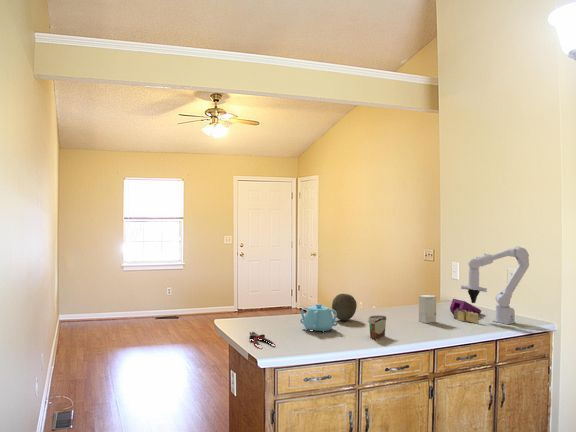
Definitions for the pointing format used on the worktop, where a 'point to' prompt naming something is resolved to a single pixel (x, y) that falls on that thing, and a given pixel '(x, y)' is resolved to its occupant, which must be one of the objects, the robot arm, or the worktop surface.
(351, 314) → the dark brown ball
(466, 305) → the mounting bracket
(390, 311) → the worktop surface
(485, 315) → the worktop surface
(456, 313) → the fixed leaf
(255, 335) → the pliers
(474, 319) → the loose leaf
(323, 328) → the decorative pot
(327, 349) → the worktop surface
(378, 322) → the food container
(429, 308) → the skincare box
